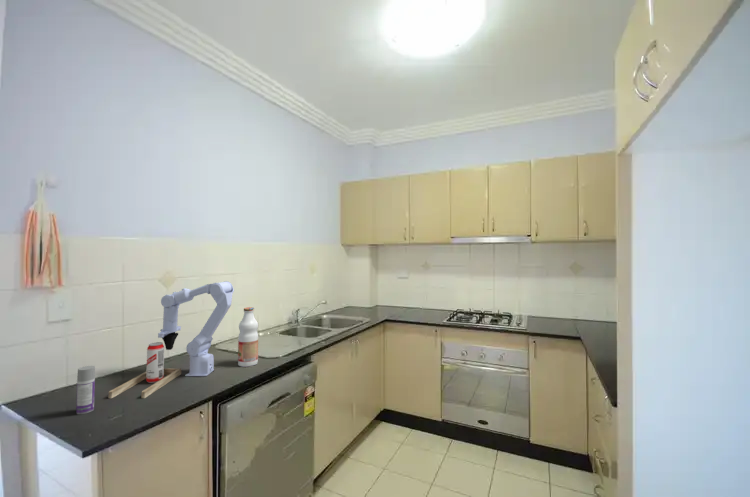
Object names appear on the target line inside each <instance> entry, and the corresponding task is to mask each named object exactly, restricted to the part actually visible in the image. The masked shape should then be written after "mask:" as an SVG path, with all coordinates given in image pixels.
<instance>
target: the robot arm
mask: <svg viewBox="0 0 750 497" xmlns="http://www.w3.org/2000/svg"><path fill="white" fill-rule="evenodd" d="M234 292H235V288H234V286H233V284H232V283H231V282H230V281H227V280H225V281H221V282H213V283H208V284H204V285H202V286H198V287H196V288H193V289H190V288H186V287H185V288H181V290H179V291H174V292H172V293H171V294H164V296H162V297H161V299H160V303H161V305H162V307H163V318H162V319H163V320H162V321H163V322H162V329H160V332H158V333H157V338H158V339H159V338H160V339H162V340H163V344H164V348H165V350H166V351H171V350H173V348H174V344H175V341H176V339H177V337H178V336H179V332H178V331H181V329H182V326H181V325H178V324H179V323H178V319H179V318H178V317H179V308H180V305H181V304H185V303H187V302H190V301H192V300H193V299H194V298H195V297H196V296H201V295H204V294H207V295H211V297H212V298H213V300H214V302H215V303H216V306H215V308H214V309H213V311H212V312H211V313H210V316H209V317H208V319H207V321H206V322H205V323H204V326H203V327H202V329H201V331H200V332H199V333H198V334H197V335H195V337H194V338H193V339H192V340H191V341H189V342H188V343H187V345H186V348H185V349H186V352H187V354H188V356H189V372H188V373H186V374H185V377H207V376H209V375H210V374H211V373H213V371H215V369H214V364H215V361H214V360H215V357H214V354H213V353H208V352H209V349H210V348H211V346H212V341H213V340H214V338H213V335H214V333H215V332H216V330H217V328H218V327H219V326H220V324H221V323H222V321H223V319H224V318H225V315H226V314H227V312H228V311H229V309H230V308H231V306H232V301H233V294H234Z"/></svg>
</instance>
